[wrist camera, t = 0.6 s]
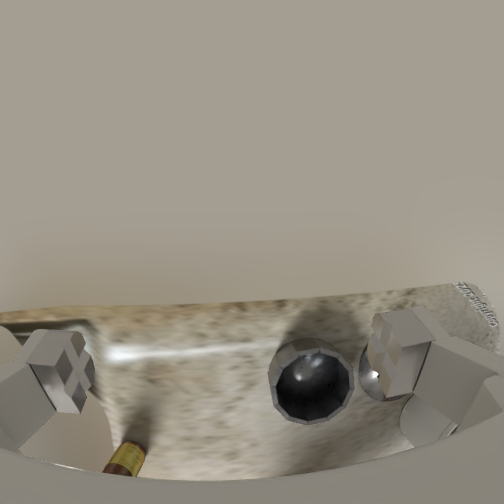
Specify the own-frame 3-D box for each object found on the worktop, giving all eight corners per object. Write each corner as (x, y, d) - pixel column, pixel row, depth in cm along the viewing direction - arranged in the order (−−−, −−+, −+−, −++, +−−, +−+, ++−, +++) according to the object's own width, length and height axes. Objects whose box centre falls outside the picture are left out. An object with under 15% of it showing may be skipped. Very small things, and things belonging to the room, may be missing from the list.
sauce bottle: (131, 464, 56) (100, 517, 37) (114, 443, 57) (77, 493, 37) (153, 457, 57) (126, 513, 37) (136, 435, 57) (103, 487, 37)
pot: (354, 374, 58) (368, 388, 50) (298, 418, 57) (304, 437, 49) (312, 322, 58) (322, 331, 50) (253, 369, 58) (254, 385, 50)
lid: (432, 362, 58) (445, 369, 53) (380, 410, 58) (390, 421, 52) (399, 312, 59) (412, 316, 53) (342, 363, 58) (351, 372, 53)
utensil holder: (460, 404, 58) (504, 431, 41) (416, 450, 57) (452, 487, 40) (433, 369, 58) (480, 395, 41) (385, 420, 58) (421, 460, 40)
